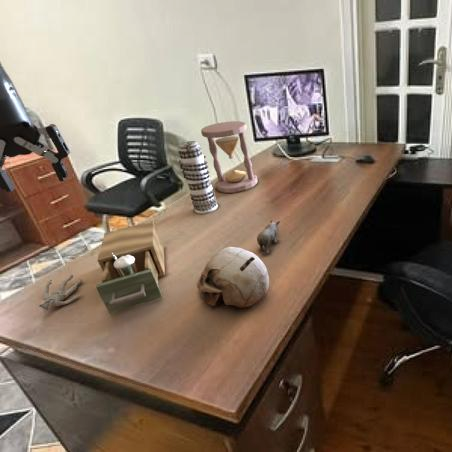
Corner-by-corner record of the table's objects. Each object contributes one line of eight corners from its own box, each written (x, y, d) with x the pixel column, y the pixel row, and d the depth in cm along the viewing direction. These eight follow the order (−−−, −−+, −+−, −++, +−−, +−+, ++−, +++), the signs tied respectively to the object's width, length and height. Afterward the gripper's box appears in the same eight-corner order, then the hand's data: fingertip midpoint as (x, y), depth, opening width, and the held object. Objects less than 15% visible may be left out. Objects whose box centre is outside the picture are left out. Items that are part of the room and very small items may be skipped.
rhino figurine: (286, 231, 111) (283, 214, 108) (269, 255, 100) (265, 237, 97) (274, 230, 112) (271, 214, 109) (256, 254, 101) (252, 236, 98)
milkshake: (134, 280, 91) (119, 248, 86) (150, 283, 89) (136, 251, 84) (119, 292, 87) (103, 259, 82) (135, 295, 85) (120, 261, 80)
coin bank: (202, 281, 91) (193, 237, 84) (269, 275, 94) (266, 233, 87) (192, 325, 78) (181, 278, 71) (271, 317, 81) (267, 271, 74)
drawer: (162, 308, 82) (151, 281, 78) (107, 326, 78) (92, 299, 74) (161, 266, 98) (151, 242, 94) (115, 280, 94) (103, 255, 90)
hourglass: (264, 177, 156) (253, 120, 144) (246, 193, 141) (232, 131, 129) (229, 177, 160) (215, 121, 148) (208, 192, 146) (191, 132, 133)
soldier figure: (93, 285, 96) (69, 302, 84) (83, 299, 96) (57, 318, 84) (65, 270, 94) (37, 284, 82) (55, 284, 94) (25, 301, 82)
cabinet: (164, 275, 95) (152, 245, 91) (112, 291, 91) (97, 260, 86) (163, 248, 108) (153, 221, 103) (117, 261, 104) (104, 232, 99)
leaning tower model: (193, 206, 135) (174, 142, 123) (218, 201, 137) (201, 137, 125) (193, 215, 127) (172, 148, 115) (219, 210, 129) (201, 144, 117)
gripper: (45, 89, 65) (83, 171, 73) (-52, 100, 60) (-1, 187, 68) (34, 93, 59) (76, 183, 67) (-75, 106, 54) (-16, 201, 62)
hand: (37, 185), depth 67 cm, fingers open, 8 cm apart
